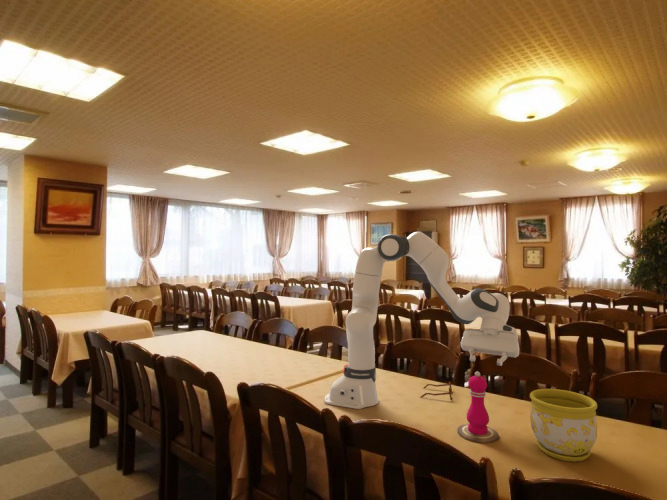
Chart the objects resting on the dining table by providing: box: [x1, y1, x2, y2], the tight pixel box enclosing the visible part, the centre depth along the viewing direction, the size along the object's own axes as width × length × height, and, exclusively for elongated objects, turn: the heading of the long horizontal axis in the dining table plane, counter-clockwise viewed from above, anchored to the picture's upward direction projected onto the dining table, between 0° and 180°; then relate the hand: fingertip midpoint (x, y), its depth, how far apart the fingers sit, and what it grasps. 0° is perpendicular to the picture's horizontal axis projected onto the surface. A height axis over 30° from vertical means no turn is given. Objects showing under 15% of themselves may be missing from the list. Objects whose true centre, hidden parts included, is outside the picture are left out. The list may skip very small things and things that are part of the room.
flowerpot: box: [529, 388, 598, 463], centre depth 123 cm, size 18×18×16 cm
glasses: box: [419, 381, 453, 401], centre depth 175 cm, size 13×13×5 cm
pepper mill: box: [466, 371, 490, 435], centre depth 135 cm, size 7×7×20 cm
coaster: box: [456, 423, 499, 444], centre depth 135 cm, size 13×13×1 cm
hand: (485, 362), depth 143 cm, fingers open, 8 cm apart
